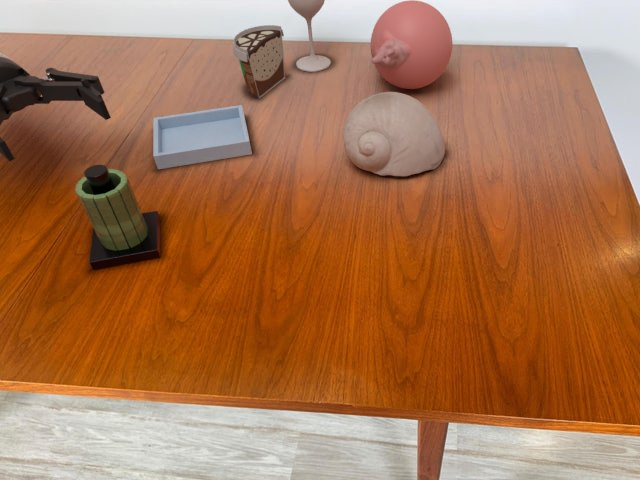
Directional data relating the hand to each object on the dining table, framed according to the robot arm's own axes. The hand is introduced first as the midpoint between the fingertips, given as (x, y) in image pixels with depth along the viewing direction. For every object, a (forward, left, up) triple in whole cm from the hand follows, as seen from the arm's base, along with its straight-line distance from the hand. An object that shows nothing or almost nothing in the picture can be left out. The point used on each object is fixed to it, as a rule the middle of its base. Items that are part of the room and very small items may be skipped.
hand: (58, 130), depth 78 cm
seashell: (+48, +2, -15) cm, 50 cm away
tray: (+17, +16, -14) cm, 27 cm away
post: (+5, -8, -14) cm, 17 cm away
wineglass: (+41, +40, -15) cm, 59 cm away
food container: (+29, +34, -15) cm, 46 cm away
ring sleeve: (+5, -8, -13) cm, 16 cm away
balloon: (+56, +24, -15) cm, 62 cm away
